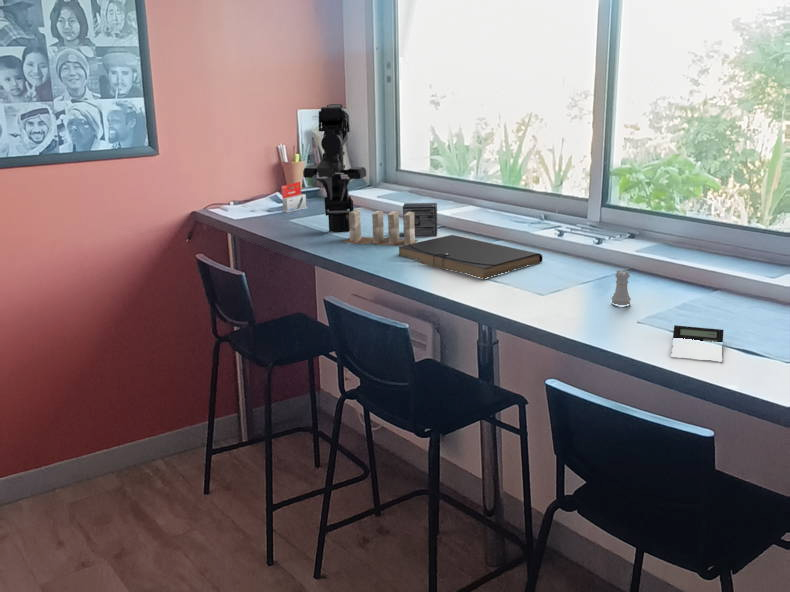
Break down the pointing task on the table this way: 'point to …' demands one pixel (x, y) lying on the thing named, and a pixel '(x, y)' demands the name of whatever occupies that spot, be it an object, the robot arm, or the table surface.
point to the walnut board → (370, 241)
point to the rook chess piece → (621, 289)
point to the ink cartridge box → (293, 197)
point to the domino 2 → (378, 226)
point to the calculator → (698, 333)
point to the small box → (423, 218)
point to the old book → (469, 255)
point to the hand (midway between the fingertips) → (335, 200)
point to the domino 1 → (355, 225)
